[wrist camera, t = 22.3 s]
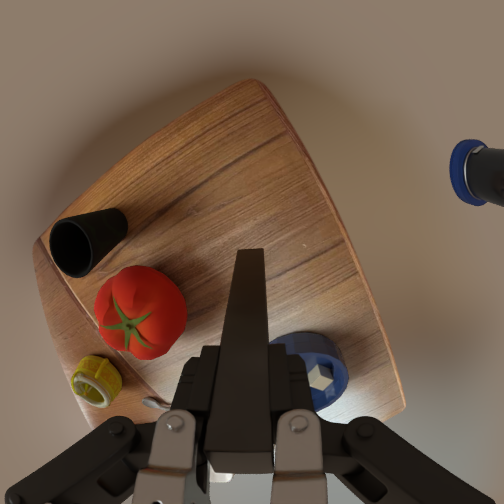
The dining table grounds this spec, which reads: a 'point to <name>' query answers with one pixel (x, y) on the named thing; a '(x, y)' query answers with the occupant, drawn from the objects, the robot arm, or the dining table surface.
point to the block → (320, 377)
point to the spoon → (154, 404)
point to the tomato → (140, 312)
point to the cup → (86, 240)
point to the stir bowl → (322, 353)
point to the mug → (96, 381)
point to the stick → (242, 377)
